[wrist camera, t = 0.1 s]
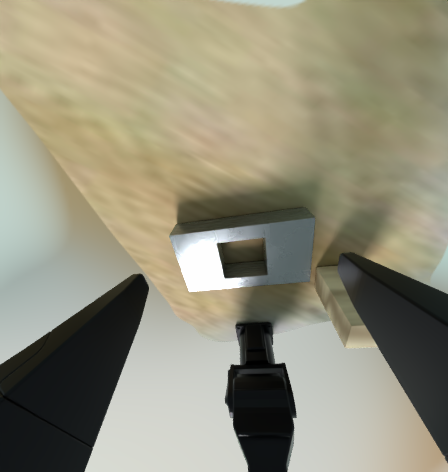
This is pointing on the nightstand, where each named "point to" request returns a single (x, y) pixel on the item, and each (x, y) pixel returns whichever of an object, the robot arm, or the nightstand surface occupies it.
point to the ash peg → (341, 309)
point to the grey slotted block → (243, 228)
